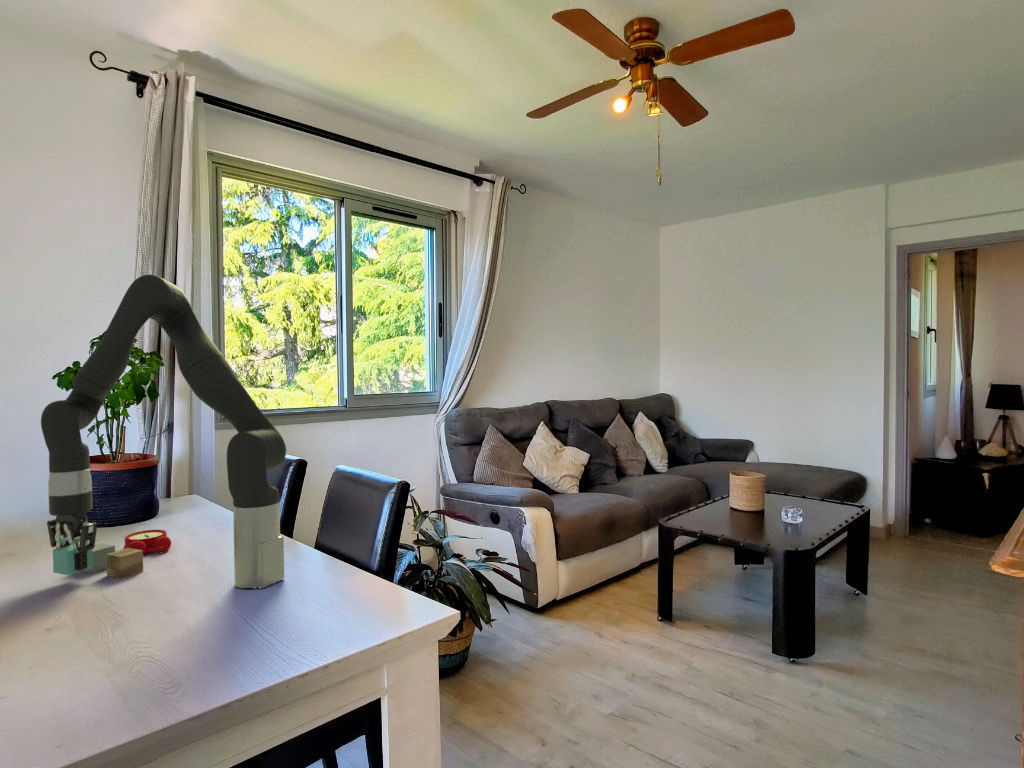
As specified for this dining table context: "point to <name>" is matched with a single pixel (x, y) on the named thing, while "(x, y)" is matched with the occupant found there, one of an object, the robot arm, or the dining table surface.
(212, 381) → the robot arm
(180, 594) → the dining table surface
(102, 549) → the grey-green rectangular block
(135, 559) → the brass block
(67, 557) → the teal block
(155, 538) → the alarm clock
